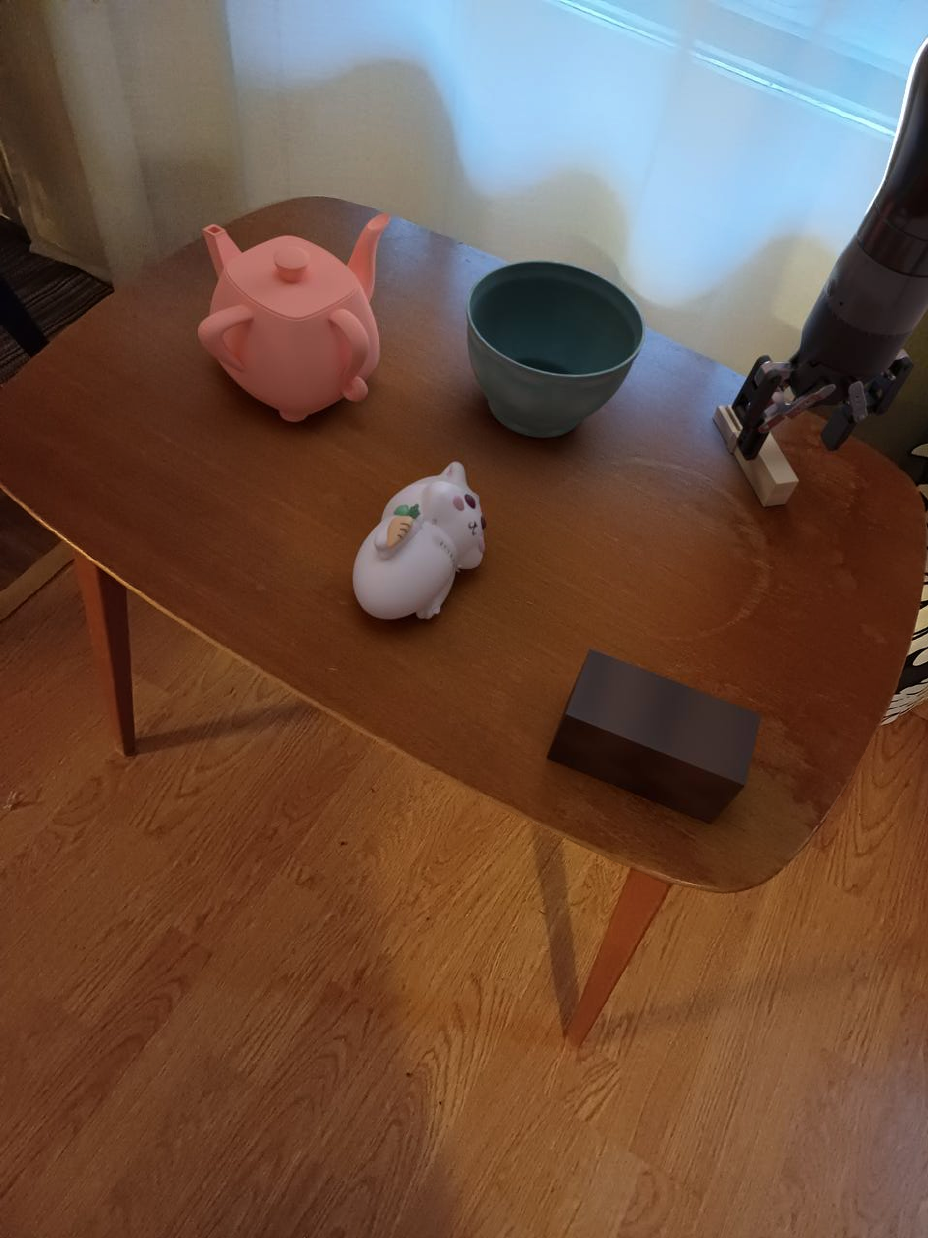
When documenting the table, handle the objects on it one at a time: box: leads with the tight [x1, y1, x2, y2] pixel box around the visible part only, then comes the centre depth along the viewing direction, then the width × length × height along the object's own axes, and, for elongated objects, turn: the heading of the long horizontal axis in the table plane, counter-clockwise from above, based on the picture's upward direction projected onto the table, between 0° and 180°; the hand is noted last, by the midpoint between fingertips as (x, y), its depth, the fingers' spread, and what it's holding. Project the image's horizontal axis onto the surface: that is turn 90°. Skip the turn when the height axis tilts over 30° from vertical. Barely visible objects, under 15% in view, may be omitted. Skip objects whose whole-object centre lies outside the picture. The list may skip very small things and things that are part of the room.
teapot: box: [197, 212, 391, 423], centre depth 84 cm, size 16×17×14 cm
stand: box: [546, 647, 762, 825], centre depth 68 cm, size 13×6×7 cm, turn 69°
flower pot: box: [465, 259, 647, 439], centre depth 87 cm, size 16×16×11 cm
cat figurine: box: [352, 461, 487, 620], centre depth 75 cm, size 10×8×15 cm
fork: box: [712, 404, 800, 508], centre depth 89 cm, size 12×3×3 cm, turn 15°
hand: (787, 448), depth 84 cm, fingers open, 8 cm apart
